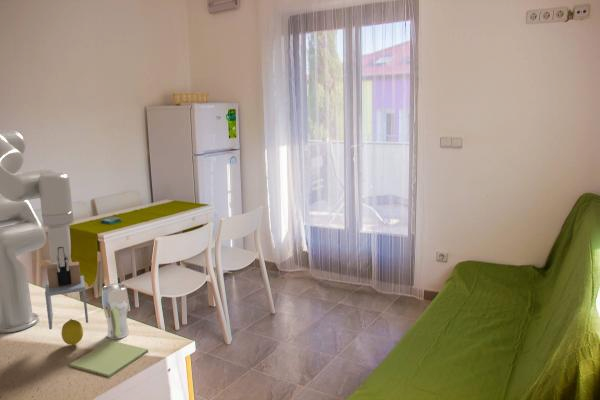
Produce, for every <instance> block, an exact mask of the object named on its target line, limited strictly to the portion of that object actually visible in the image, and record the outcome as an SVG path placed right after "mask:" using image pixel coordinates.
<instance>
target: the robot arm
mask: <svg viewBox="0 0 600 400" xmlns="http://www.w3.org/2000/svg"><path fill="white" fill-rule="evenodd" d="M25 151H26V141H25V138H24V137H23V135H22V134H21V133H20V132H19V131H17V130H14V129H9V128H8V129H0V333H5V334H7V333H14V332H19V331H22V330H23V331H24V330H25V329H29V328H31V327H32V326H34V325H36V324H37V323H39V320H40V317H39V315H38V314H37V313H35V312H33V307H32V300H31V293H30V286H29V279H28V271H27V268H26V266H25V264H24V263H23V262H22V261H20V260H19V259H18V258H17V257H18V256H19V255H23V254H26V253H30V252H34V251H37V250H39V249H41V248H43V247H44V246H45V245H46V244H47V243H46V242H47V236H48V247H49V258H50V259H49V260H50V264H54V263H55V262H56V264H57V268H58V272H57V276H58V285H59V286H63V285H69V284H71V275H70V270H69V266H68V263H70V262H69V261H70V260H71V256H72V255H71V252H72V248H71V247H72V244H71V243H72V241H71V231H70V230H71V229H70V226H71V225H72V224H74V212H73V202H72V192H71V191H72V190H71V183H70V177H69V175H68V174H66V173H62V172H55V171H54V170H50V169H42V170H41V169H40V170H32V171H31V170H30V171H26V172H24V171H23V172H18V171H20V169H21V168H22V166H23V164H24V155H23V154H24V153H25ZM36 199H39V201H40V209H41V210H40V211H41V218H42V222H41V221H40V219H39V217H38V215H37V213H36V211H35V209H34V207H33V205H32V204H31V202H30V200H36ZM44 227H45V228H47V234H46V230H45V228H44ZM65 263H66V264H65ZM66 267H67V268H66Z"/></svg>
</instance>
